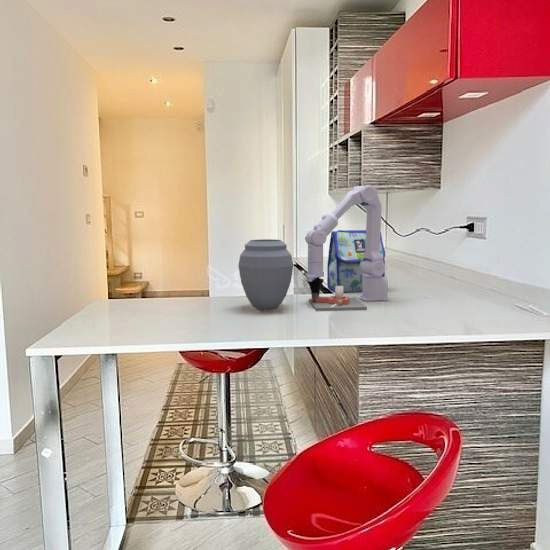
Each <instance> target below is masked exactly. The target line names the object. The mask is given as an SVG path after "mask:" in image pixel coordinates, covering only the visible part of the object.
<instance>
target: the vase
mask: <svg viewBox="0 0 550 550" xmlns="http://www.w3.org/2000/svg"><path fill="white" fill-rule="evenodd" d="M287 246H288V245H287V243H285V242H284V241H282V240H281V239H250V240H249V241H248V242H246V243H245V244H244V250H243V251H242V252H241V254H240V255H239V260H238V271H239V277H240V283H241V285H242V289H243V292H244V293H245V296H246V297H247V299H248V301H249V303H250V304H251V306H252V307H253V308H254V309H256V310H258V311H274V310H277V309H279V307H280V306H281V305H282V304H283V301H284V300H285V298H286V297H287V294H288V291H289V288H290V285H291V282H292V278H293V277H292V275H293V271H294V262H293V257H292V254H291V252H290V251H289V250H288V249H287ZM273 309H274V310H273Z"/></svg>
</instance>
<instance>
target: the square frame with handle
mask: <svg viewBox="0 0 550 550" xmlns="http://www.w3.org/2000/svg"><path fill="white" fill-rule="evenodd" d="M349 298H350V296H348V295H347V296H346V295H345V296H344V295H343V299H335V295H331V296H319V297H318V293H312V294H311V299H312V302H329V303H330V304H337V300H342V304H348V302H349Z"/></svg>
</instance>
